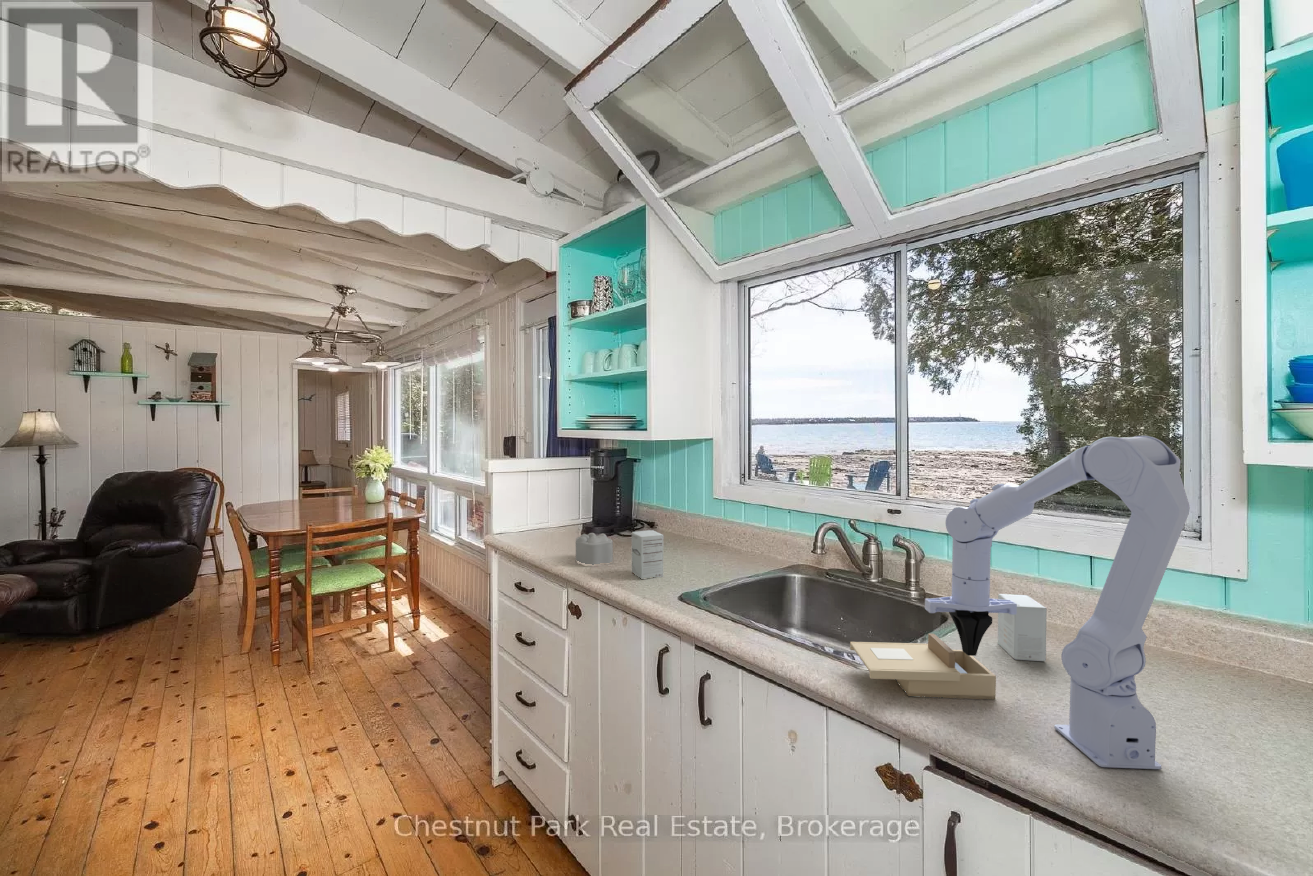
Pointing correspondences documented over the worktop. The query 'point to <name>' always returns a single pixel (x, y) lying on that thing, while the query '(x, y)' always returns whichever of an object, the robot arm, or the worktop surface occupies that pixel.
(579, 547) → the lumpy-topped squat cylinder
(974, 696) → the mailer box
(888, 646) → the lid
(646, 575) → the supplement box
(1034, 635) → the small box
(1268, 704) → the worktop surface
